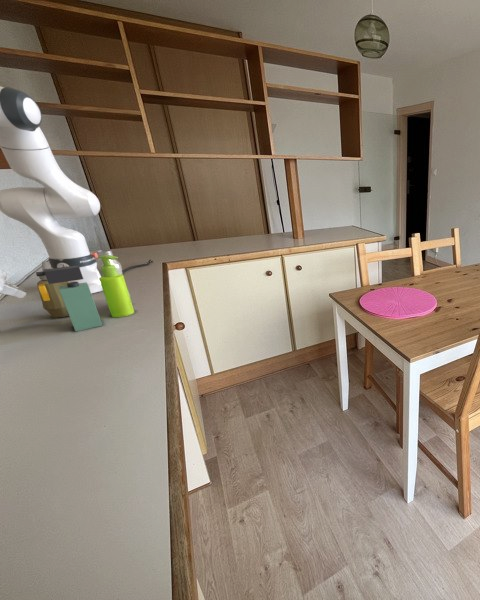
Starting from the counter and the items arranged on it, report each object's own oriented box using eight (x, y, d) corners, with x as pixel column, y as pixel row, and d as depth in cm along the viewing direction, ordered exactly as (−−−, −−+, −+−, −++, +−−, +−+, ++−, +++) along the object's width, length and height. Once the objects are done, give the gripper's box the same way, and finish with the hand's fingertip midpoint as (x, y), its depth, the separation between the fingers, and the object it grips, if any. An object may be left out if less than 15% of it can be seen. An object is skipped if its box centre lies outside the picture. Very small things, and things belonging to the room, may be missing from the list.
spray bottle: (60, 335, 91) (35, 273, 84) (59, 329, 94) (35, 269, 87) (102, 325, 97) (82, 267, 90) (100, 320, 100) (80, 264, 93)
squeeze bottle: (87, 311, 106) (69, 260, 100) (57, 321, 99) (34, 266, 92) (72, 308, 108) (53, 257, 102) (41, 317, 101) (18, 263, 95)
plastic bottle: (114, 311, 107) (95, 254, 100) (106, 307, 110) (87, 251, 103) (137, 305, 112) (120, 250, 105) (129, 301, 115) (112, 248, 108)
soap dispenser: (124, 318, 102) (104, 258, 95) (106, 316, 103) (86, 257, 96) (141, 311, 107) (124, 254, 100) (124, 309, 109) (106, 253, 101)
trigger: (43, 301, 87) (38, 287, 86) (43, 298, 89) (38, 284, 88) (50, 300, 88) (44, 286, 86) (49, 297, 90) (44, 283, 88)
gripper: (-50, 263, 69) (33, 294, 79) (-37, 249, 82) (33, 277, 92) (-75, 287, 68) (13, 315, 78) (-57, 268, 80) (17, 295, 91)
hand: (24, 294), depth 85 cm, fingers closed
